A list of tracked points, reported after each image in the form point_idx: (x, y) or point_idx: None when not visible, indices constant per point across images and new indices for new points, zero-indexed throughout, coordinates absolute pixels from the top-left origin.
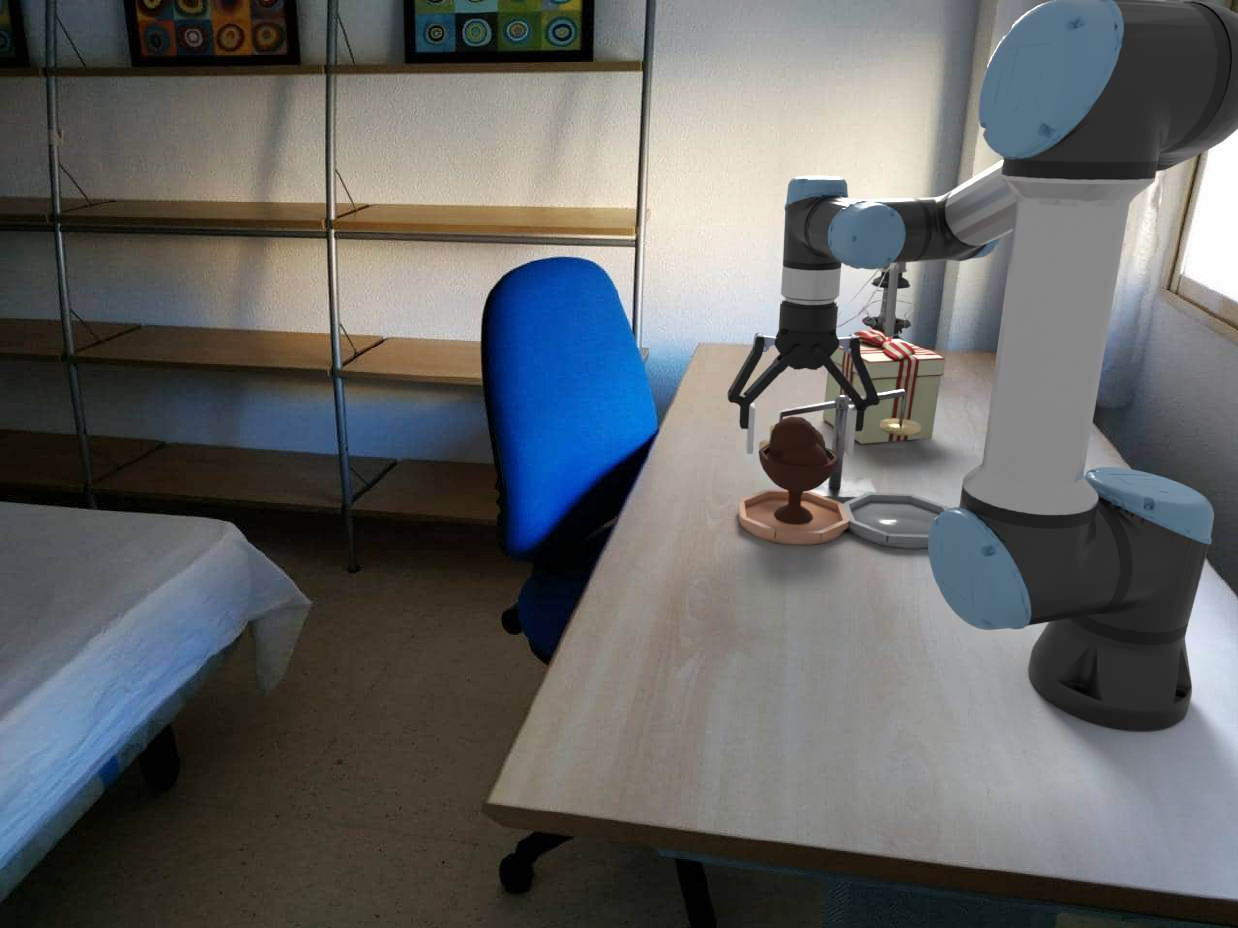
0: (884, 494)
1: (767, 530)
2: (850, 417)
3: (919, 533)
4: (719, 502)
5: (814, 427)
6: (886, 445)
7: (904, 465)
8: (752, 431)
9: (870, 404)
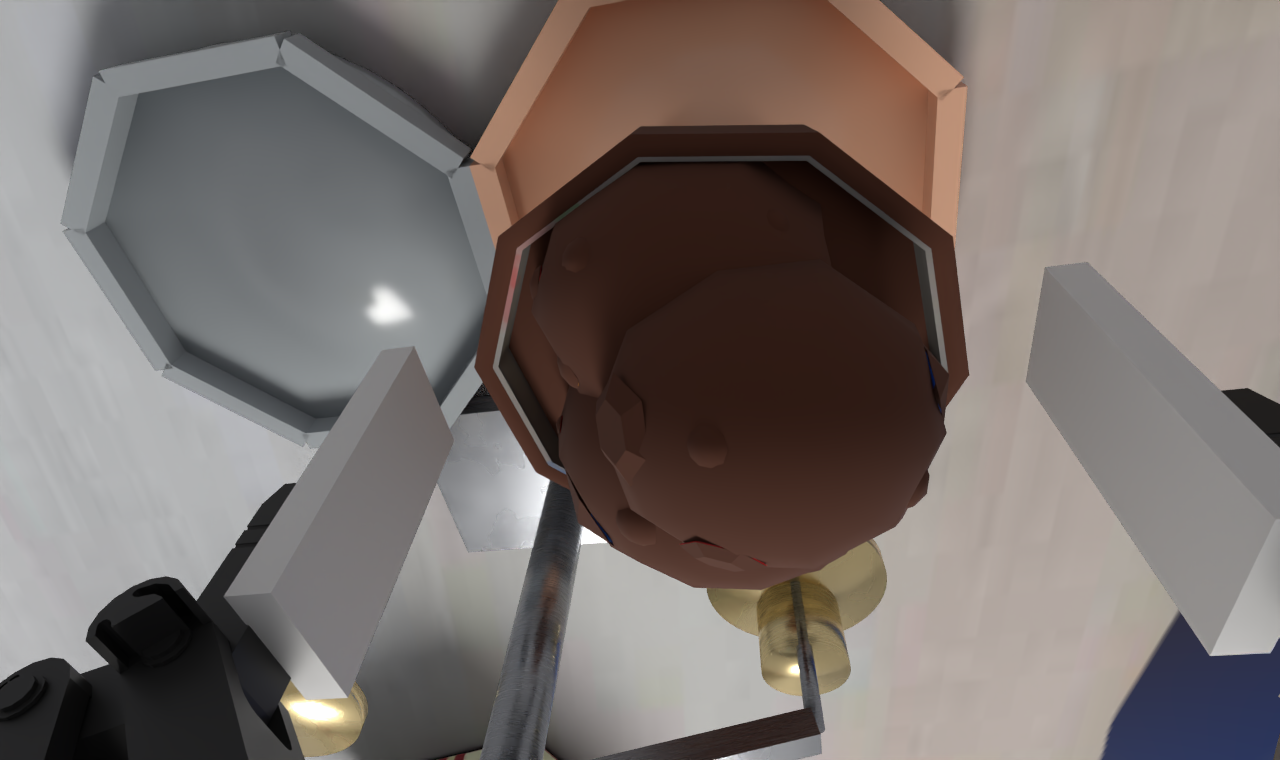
0: None
1: None
2: (306, 544)
3: (202, 163)
4: (1004, 322)
5: (623, 530)
6: (469, 739)
7: (400, 651)
8: (1146, 360)
9: (107, 675)
